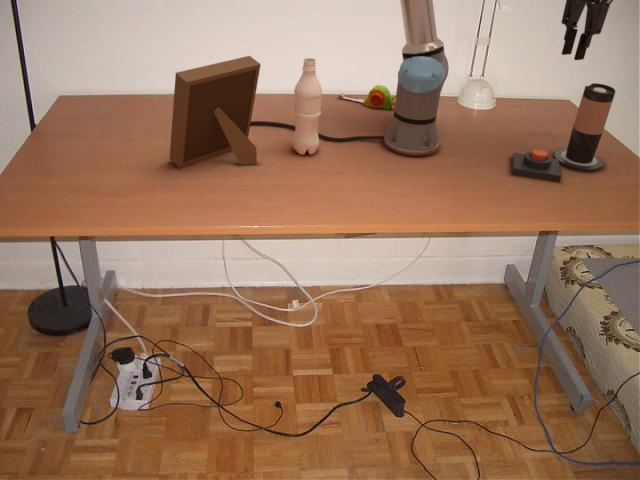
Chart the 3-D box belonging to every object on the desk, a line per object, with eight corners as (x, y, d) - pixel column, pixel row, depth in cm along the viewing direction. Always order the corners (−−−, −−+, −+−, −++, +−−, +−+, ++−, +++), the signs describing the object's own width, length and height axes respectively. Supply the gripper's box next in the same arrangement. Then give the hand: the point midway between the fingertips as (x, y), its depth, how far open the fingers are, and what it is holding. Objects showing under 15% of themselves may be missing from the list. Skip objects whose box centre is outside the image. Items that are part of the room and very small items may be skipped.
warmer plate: (555, 168, 173) (556, 164, 173) (552, 148, 184) (553, 144, 183) (605, 175, 171) (606, 172, 171) (599, 155, 182) (600, 151, 181)
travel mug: (595, 165, 173) (618, 95, 162) (566, 161, 174) (587, 91, 163) (591, 153, 180) (613, 85, 169) (563, 150, 181) (583, 81, 170)
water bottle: (322, 149, 175) (328, 58, 161) (311, 159, 170) (316, 66, 156) (299, 143, 177) (303, 53, 164) (287, 152, 172) (290, 61, 158)
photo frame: (169, 161, 164) (162, 65, 150) (237, 139, 177) (235, 49, 163) (204, 183, 155) (199, 84, 141) (272, 158, 168) (273, 65, 155)
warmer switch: (512, 175, 168) (515, 161, 166) (511, 159, 177) (515, 145, 174) (559, 182, 166) (563, 168, 164) (556, 165, 175) (560, 152, 172)
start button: (530, 160, 168) (532, 154, 167) (530, 154, 171) (531, 148, 170) (546, 162, 168) (547, 156, 167) (545, 156, 171) (547, 150, 170)
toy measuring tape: (392, 113, 199) (395, 93, 195) (335, 100, 205) (337, 80, 202) (399, 107, 204) (402, 87, 200) (343, 94, 210) (345, 75, 206)
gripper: (637, -32, 151) (607, 65, 164) (584, -46, 164) (560, 46, 177) (614, -31, 148) (585, 68, 161) (562, -45, 161) (539, 48, 174)
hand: (572, 56), depth 169 cm, fingers open, 4 cm apart
